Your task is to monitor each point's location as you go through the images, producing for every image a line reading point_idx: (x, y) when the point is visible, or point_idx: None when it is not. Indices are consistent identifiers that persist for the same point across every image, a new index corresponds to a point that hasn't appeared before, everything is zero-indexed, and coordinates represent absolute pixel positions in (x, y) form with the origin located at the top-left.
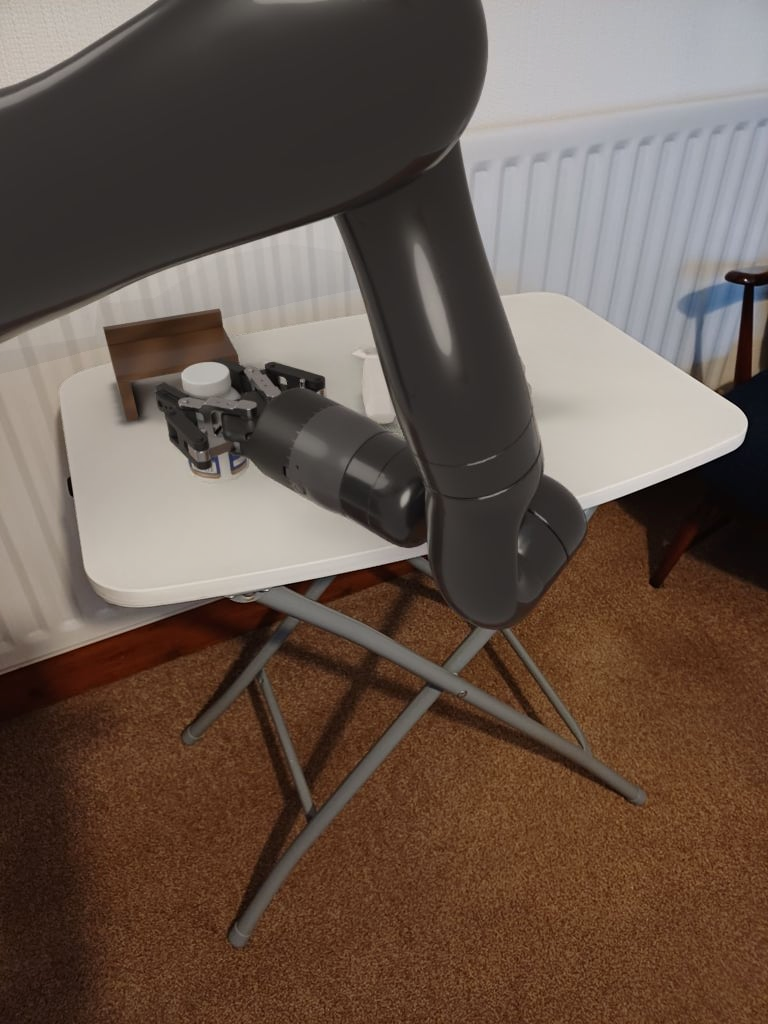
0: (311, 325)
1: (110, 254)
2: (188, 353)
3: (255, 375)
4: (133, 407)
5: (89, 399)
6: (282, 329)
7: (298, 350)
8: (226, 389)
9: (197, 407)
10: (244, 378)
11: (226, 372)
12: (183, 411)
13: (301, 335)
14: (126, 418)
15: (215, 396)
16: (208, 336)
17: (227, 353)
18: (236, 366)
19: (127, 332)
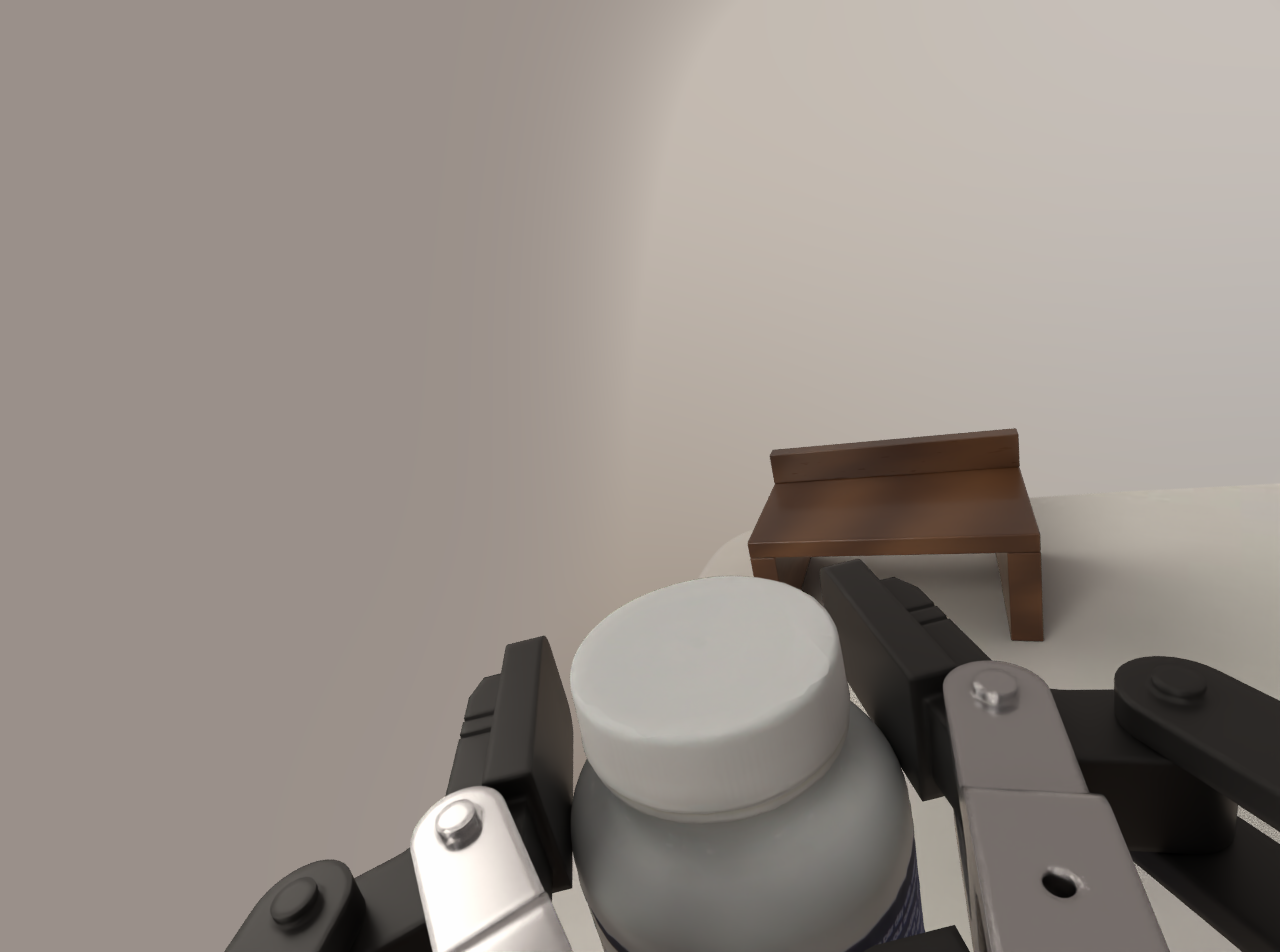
0: (1263, 487)
1: None
2: (915, 516)
3: (1016, 753)
4: None
5: (734, 572)
6: (1177, 489)
7: (1223, 540)
8: (781, 791)
9: (434, 944)
10: (942, 728)
11: (807, 676)
12: (414, 897)
13: (1232, 506)
14: None
15: (695, 820)
16: (977, 484)
17: (1011, 527)
18: (915, 632)
19: (811, 462)
